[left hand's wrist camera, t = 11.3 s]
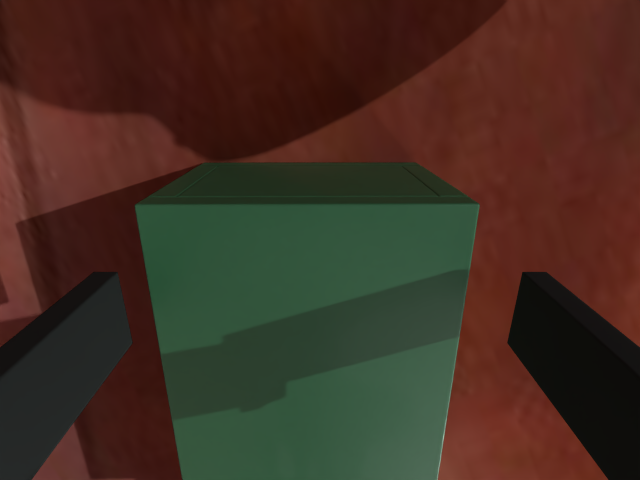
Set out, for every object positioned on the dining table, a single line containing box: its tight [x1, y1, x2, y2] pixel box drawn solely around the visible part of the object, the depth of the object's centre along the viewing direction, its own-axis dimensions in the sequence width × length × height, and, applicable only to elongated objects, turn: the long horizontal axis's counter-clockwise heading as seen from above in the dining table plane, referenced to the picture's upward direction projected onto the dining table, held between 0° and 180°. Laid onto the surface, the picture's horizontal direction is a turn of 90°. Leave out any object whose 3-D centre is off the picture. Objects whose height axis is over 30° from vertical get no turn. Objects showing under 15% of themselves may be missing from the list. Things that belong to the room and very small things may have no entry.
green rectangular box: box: [135, 163, 479, 480], centre depth 20 cm, size 20×11×8 cm, turn 0°
